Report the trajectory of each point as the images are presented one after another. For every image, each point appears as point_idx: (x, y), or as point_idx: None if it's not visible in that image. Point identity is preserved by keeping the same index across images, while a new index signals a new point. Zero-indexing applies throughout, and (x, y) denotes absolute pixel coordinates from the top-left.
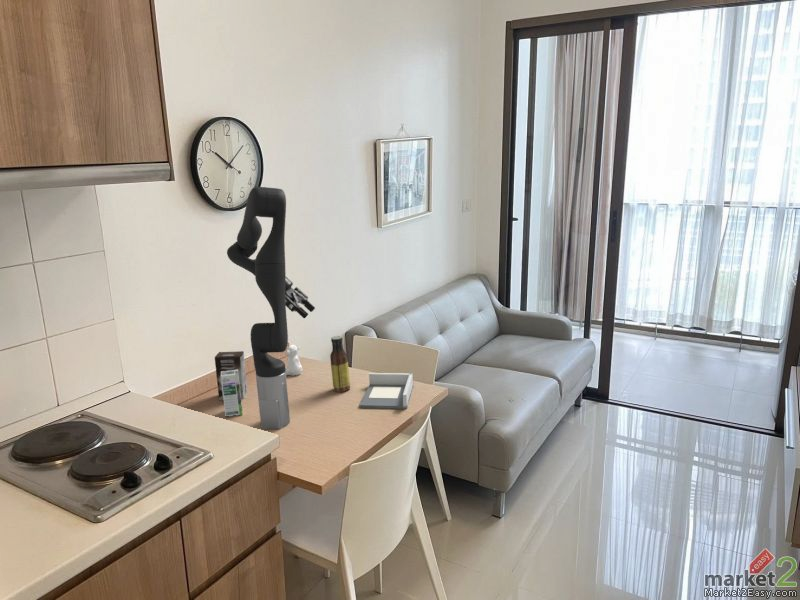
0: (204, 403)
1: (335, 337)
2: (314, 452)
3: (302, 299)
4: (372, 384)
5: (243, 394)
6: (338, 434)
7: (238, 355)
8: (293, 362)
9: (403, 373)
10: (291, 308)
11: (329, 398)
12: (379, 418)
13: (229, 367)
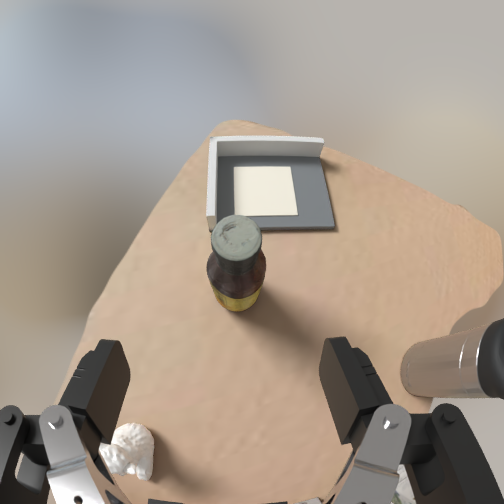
0: None
1: (235, 242)
2: (471, 260)
3: (37, 463)
4: (217, 222)
5: (319, 501)
6: (428, 242)
7: None
8: (138, 448)
9: (210, 150)
10: (434, 456)
11: (296, 306)
12: (363, 190)
13: None
